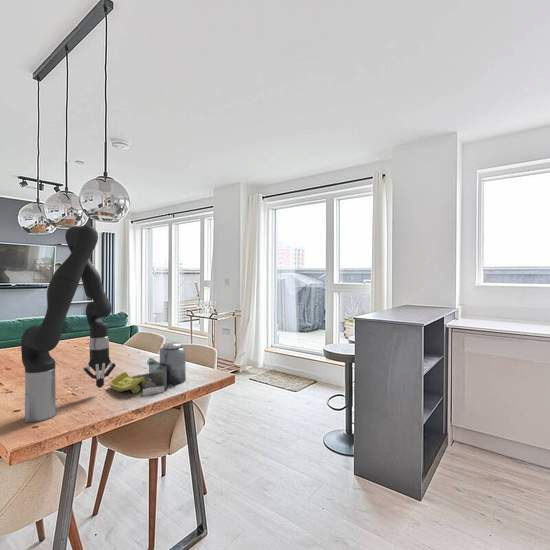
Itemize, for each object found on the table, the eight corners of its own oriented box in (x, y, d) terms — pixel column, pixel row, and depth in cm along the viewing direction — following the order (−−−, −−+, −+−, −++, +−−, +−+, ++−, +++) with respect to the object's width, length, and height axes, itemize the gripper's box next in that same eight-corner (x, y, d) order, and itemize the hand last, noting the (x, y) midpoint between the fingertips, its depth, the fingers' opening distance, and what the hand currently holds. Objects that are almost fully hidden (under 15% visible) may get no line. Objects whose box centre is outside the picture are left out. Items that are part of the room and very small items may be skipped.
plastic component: (107, 383, 155) (126, 369, 162) (115, 396, 157) (133, 382, 164) (125, 389, 142) (145, 374, 149) (133, 403, 144) (153, 387, 151)
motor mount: (143, 396, 145) (142, 353, 145) (129, 381, 166) (129, 344, 166) (194, 385, 158) (194, 346, 158) (176, 373, 179) (175, 338, 179)
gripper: (82, 350, 140) (83, 392, 140) (117, 346, 148) (118, 386, 148) (81, 347, 146) (81, 387, 146) (114, 343, 154) (115, 381, 154)
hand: (100, 387), depth 147 cm, fingers closed
